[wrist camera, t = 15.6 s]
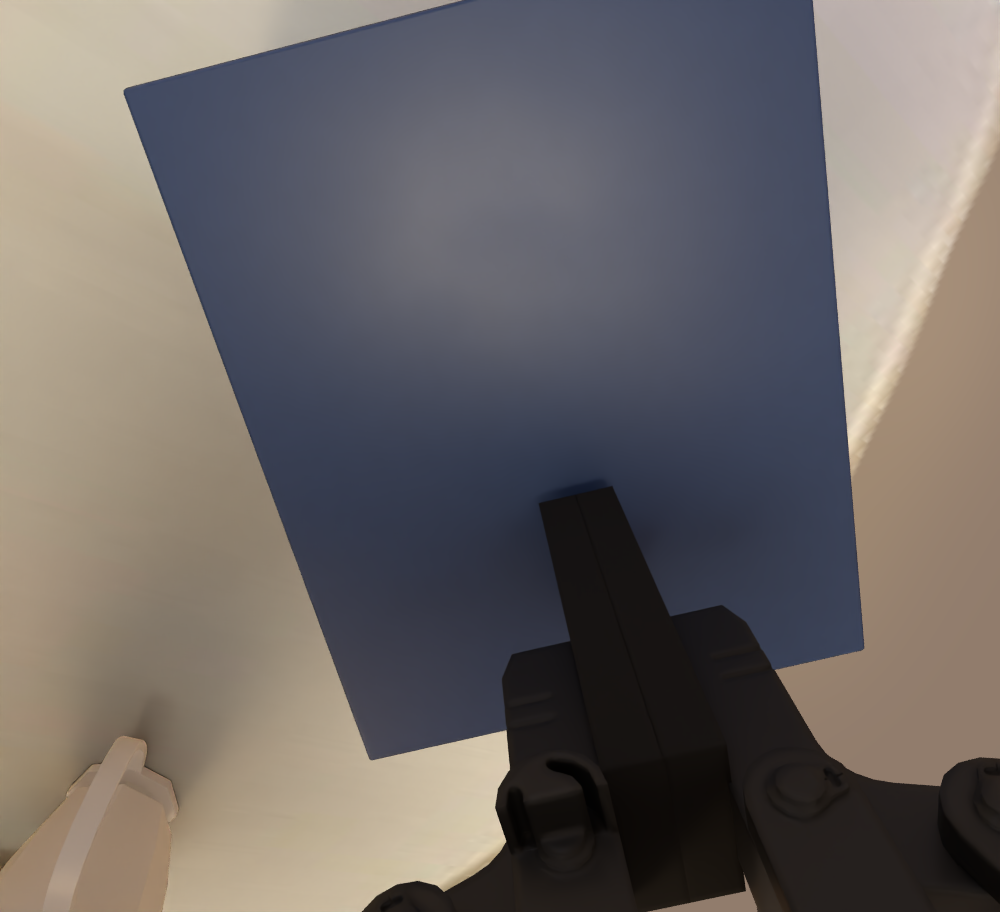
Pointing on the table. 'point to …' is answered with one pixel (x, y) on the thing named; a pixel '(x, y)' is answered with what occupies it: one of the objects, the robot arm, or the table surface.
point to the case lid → (525, 323)
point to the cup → (99, 843)
